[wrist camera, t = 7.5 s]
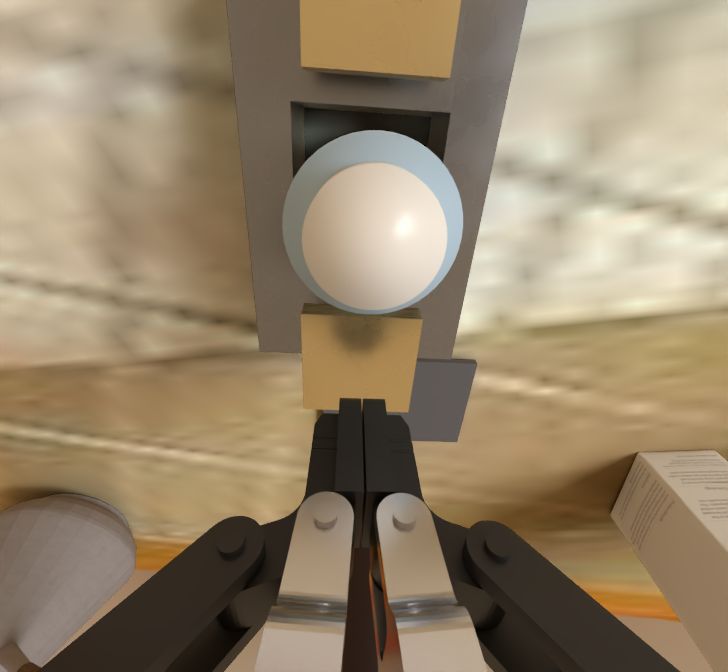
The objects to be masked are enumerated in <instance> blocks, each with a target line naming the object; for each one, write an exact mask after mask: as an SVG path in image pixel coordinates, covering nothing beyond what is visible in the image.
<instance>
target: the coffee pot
mask: <svg viewBox="0 0 728 672" xmlns="http://www.w3.org/2000/svg"><path fill="white" fill-rule="evenodd" d="M135 563H136V544H135V542H134V539H133V536H132V534H131V531H130V530H129V526H128V523H127V521H126V519H125V518H124V517H123V516H122V514H121V513H120V512H118V511H117V510H116V509H114V508H113V507H112V506H110V505H108V504H106V503H104V502H102V501H100V500H97V499H94V498H91V497H88V496H83V495H77V494H55V495H50V496H47V497H45V498H39V499H32V500H28V501H25V502H21V503H18V504H16V505H13V506H11V507H9V508H7V509H5V510H3V511H1V512H0V672H37V671H38V670H39V669H41V666H42V665H43V664H44V663H45V662H46V661H47V660H48V659H49V658H50V657H51V656H52V655H53V654H54V653H56V652H57V650H59V649H60V648H61V647H62V646H63V645H64V644H65V643H66V642H67V641H68V640H69V639H70V638H71V637H72V636H73V635H74V633H76V632H77V631H78V630H79V629H80V628H81V627H82V626H83V625H84V624H85V623H86V622H87V621H88V620H89V619H90V618H91V617H92V616H93V615H94V614H95V613H96V612H97V611H98V610H99V609H100V608H101V607H102V606H103V605H104V604H105V603H106V602H107V601H108V600H109V599H110V598H111V597H112V596H113V595H114V594H115V593H116V592H117V591H118V590H119V589H120V588H121V587H122V586H123V585H124V584H125V583H126V582H127V581H128V580H129V578H130V576H131V575H132V573H133V572H134V570H135Z"/></svg>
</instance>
